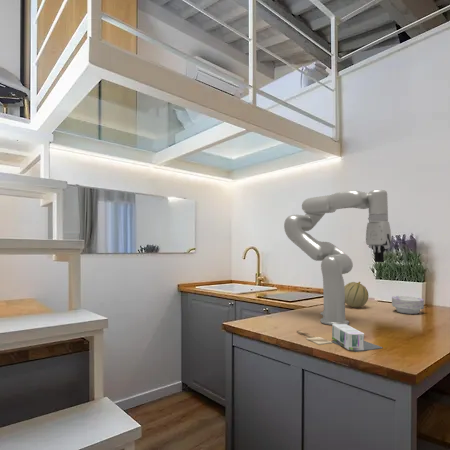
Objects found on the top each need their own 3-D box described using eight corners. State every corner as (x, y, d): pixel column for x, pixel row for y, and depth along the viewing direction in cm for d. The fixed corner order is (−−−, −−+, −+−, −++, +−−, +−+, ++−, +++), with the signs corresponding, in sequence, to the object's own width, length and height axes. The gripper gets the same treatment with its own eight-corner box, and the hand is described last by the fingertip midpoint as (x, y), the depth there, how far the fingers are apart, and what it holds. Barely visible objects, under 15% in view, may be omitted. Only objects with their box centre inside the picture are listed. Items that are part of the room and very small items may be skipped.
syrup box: (331, 323, 132) (348, 333, 117) (346, 323, 132) (364, 333, 118) (331, 338, 132) (348, 350, 117) (346, 338, 132) (364, 350, 118)
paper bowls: (430, 315, 177) (429, 299, 178) (400, 315, 177) (400, 299, 178) (414, 309, 192) (414, 295, 193) (387, 309, 193) (386, 295, 193)
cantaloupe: (337, 305, 206) (337, 280, 207) (360, 304, 208) (360, 280, 209) (349, 310, 191) (348, 283, 192) (373, 309, 193) (373, 282, 194)
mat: (330, 341, 129) (330, 341, 129) (356, 338, 133) (356, 338, 133) (355, 352, 117) (355, 351, 117) (382, 348, 121) (382, 347, 121)
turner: (292, 333, 142) (292, 331, 142) (304, 331, 144) (304, 329, 144) (318, 344, 125) (318, 342, 125) (332, 343, 127) (332, 341, 127)
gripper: (358, 220, 153) (359, 261, 152) (385, 217, 139) (386, 263, 138) (371, 220, 156) (372, 261, 154) (399, 218, 142) (400, 262, 141)
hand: (379, 261), depth 146 cm, fingers closed
